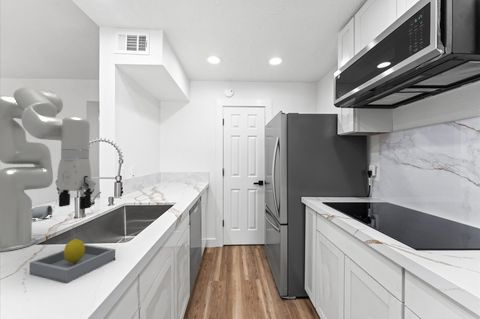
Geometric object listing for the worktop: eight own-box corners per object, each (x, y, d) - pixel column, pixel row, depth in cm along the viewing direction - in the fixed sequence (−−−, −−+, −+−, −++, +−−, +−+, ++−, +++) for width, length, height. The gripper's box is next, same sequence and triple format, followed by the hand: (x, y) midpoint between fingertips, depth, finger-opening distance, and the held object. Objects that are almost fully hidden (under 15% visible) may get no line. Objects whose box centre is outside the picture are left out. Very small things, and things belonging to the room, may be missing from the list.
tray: (29, 274, 68) (29, 262, 68) (81, 253, 83) (81, 243, 83) (66, 283, 62) (66, 270, 62) (115, 259, 78) (115, 249, 78)
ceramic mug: (36, 217, 136) (36, 205, 136) (52, 216, 139) (52, 204, 139) (26, 222, 126) (26, 208, 126) (43, 221, 129) (43, 207, 129)
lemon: (88, 259, 76) (88, 235, 76) (77, 267, 70) (77, 241, 70) (71, 259, 75) (71, 235, 76) (59, 267, 70) (59, 241, 70)
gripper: (45, 155, 74) (44, 207, 74) (82, 155, 68) (82, 211, 68) (69, 155, 81) (68, 203, 81) (105, 155, 75) (104, 207, 75)
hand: (74, 207), depth 74 cm, fingers open, 9 cm apart
